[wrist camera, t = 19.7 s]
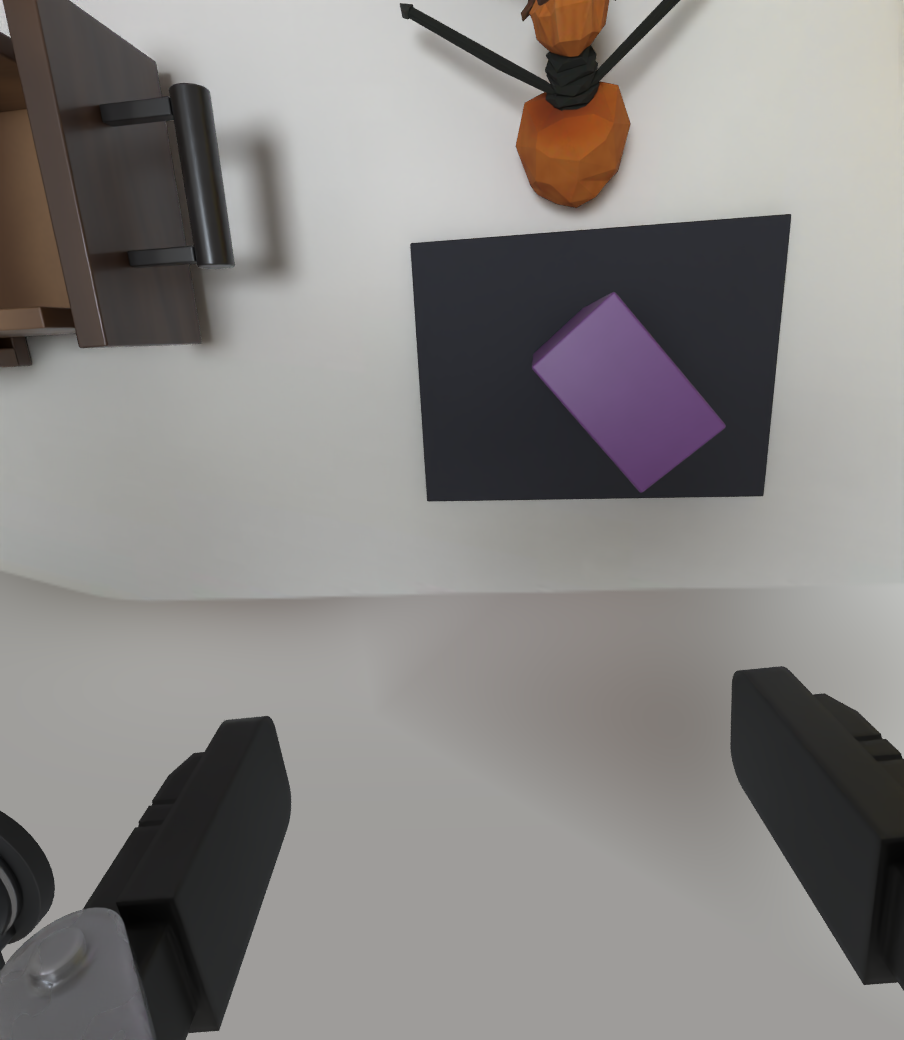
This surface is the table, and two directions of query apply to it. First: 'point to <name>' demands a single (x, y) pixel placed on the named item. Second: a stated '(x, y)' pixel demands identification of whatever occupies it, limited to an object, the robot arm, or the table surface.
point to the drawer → (100, 186)
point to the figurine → (565, 97)
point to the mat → (557, 299)
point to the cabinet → (14, 352)
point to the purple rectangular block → (625, 391)
